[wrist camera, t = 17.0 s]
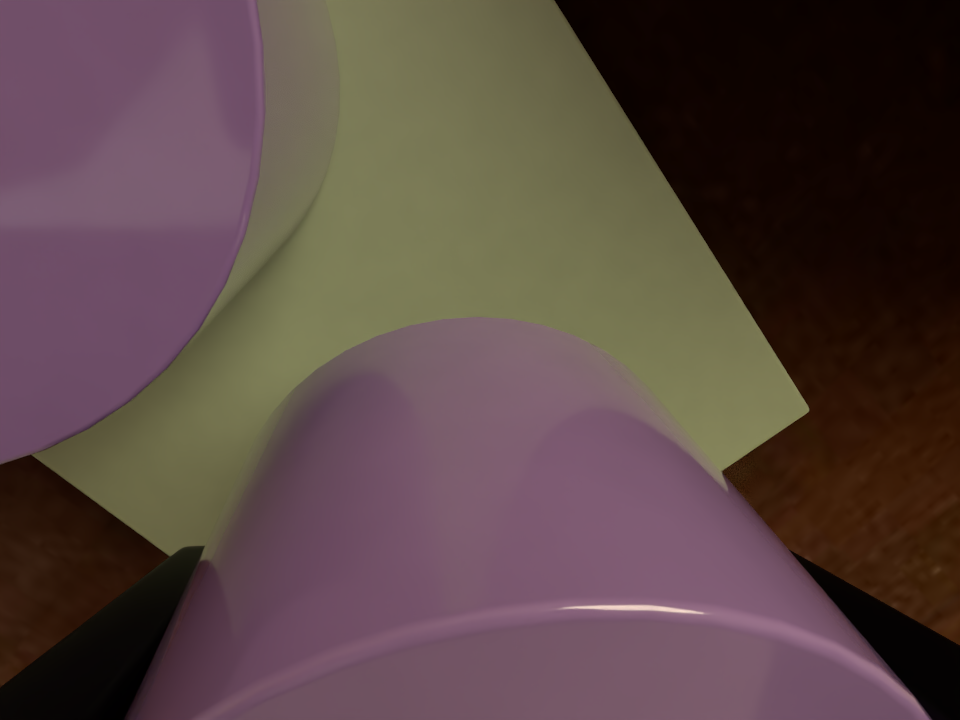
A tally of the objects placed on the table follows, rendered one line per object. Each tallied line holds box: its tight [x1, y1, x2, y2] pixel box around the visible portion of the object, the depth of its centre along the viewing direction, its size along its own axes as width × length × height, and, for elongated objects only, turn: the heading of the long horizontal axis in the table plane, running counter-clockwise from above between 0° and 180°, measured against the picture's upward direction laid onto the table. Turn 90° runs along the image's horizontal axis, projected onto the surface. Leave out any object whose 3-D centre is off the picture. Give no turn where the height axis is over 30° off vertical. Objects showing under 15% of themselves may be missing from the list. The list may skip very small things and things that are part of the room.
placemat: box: [31, 0, 809, 556], centre depth 9 cm, size 14×10×1 cm
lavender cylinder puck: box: [124, 317, 932, 720], centre depth 6 cm, size 6×6×4 cm
